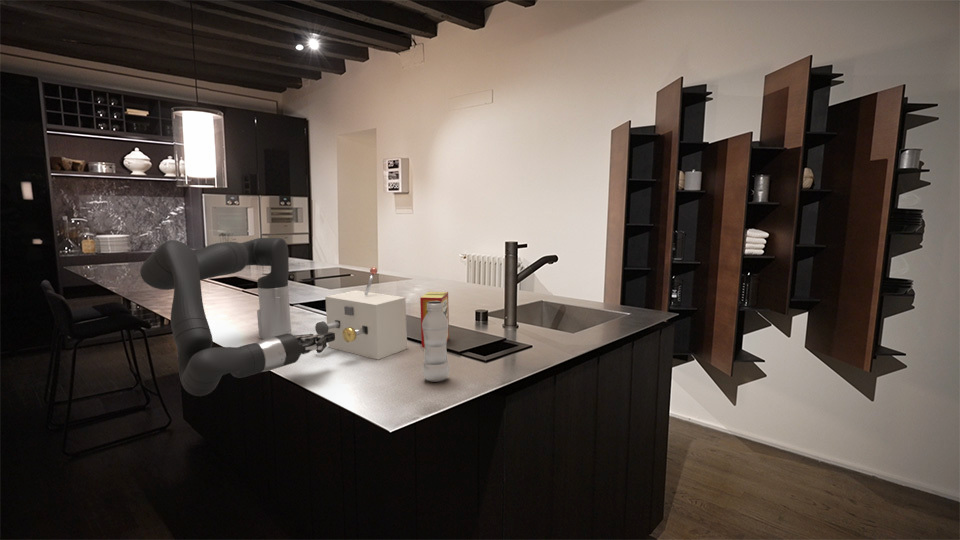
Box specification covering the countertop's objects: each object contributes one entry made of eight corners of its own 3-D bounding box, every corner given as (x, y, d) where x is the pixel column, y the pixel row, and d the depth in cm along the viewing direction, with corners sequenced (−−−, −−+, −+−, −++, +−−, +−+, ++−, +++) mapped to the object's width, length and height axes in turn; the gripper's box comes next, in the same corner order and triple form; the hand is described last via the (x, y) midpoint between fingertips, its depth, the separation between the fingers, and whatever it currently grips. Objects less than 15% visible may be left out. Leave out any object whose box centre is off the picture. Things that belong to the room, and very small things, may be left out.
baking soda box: (442, 348, 148) (441, 296, 146) (421, 347, 149) (420, 296, 147) (449, 339, 157) (448, 290, 155) (429, 338, 158) (428, 290, 156)
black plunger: (315, 334, 142) (314, 321, 142) (334, 329, 148) (334, 316, 147) (324, 336, 140) (323, 323, 139) (343, 331, 146) (342, 318, 145)
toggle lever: (360, 294, 146) (369, 266, 149) (365, 296, 148) (374, 268, 150) (365, 294, 145) (374, 266, 147) (370, 296, 147) (379, 269, 149)
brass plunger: (342, 341, 136) (342, 327, 135) (361, 335, 141) (361, 321, 141) (352, 343, 133) (351, 329, 133) (371, 337, 139) (370, 323, 138)
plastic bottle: (423, 375, 125) (421, 300, 122) (449, 374, 125) (447, 299, 122) (422, 385, 118) (420, 305, 115) (449, 384, 119) (448, 305, 116)
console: (326, 347, 149) (323, 297, 147) (358, 337, 160) (355, 290, 158) (376, 360, 137) (373, 305, 135) (407, 348, 148) (405, 297, 145)
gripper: (260, 362, 120) (318, 345, 134) (292, 372, 113) (350, 353, 127) (257, 333, 119) (317, 319, 133) (290, 341, 112) (349, 325, 126)
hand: (333, 336), depth 130 cm, fingers closed
